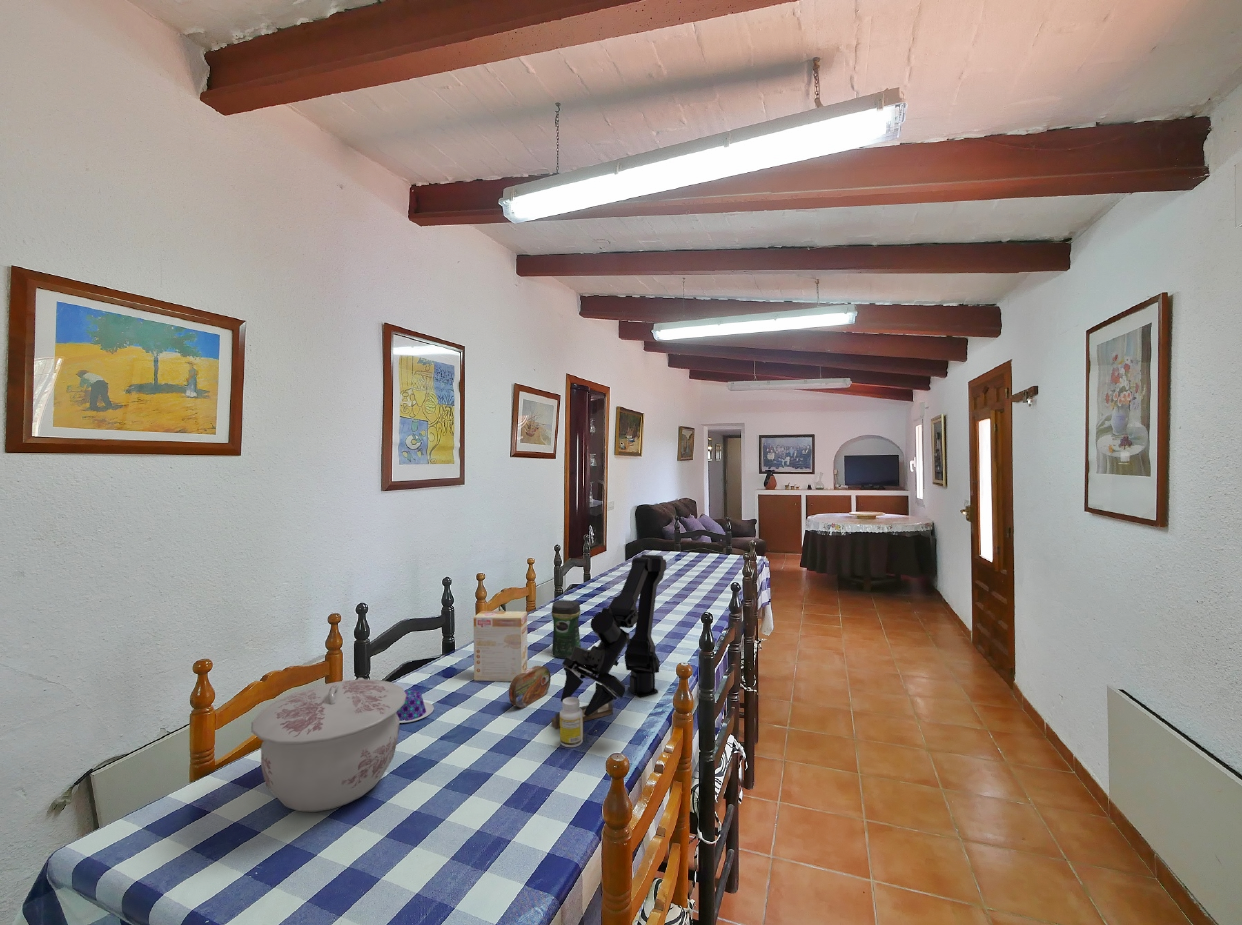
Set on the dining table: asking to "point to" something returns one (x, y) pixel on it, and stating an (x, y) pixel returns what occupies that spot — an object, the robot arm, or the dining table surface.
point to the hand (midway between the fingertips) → (573, 708)
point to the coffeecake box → (500, 645)
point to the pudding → (414, 707)
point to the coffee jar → (565, 627)
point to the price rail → (600, 712)
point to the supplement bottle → (571, 723)
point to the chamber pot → (329, 742)
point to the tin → (529, 686)
